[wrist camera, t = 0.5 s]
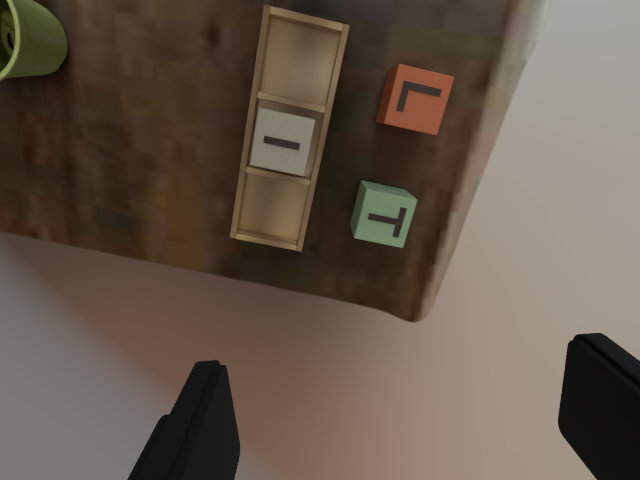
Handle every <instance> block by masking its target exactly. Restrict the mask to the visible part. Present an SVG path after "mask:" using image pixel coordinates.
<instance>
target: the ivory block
mask: <svg viewBox="0 0 640 480" xmlns="http://www.w3.org/2000/svg"><path fill="white" fill-rule="evenodd" d="M314 124H315V119H312V118H307V117H303V116H298V115H294V114H290V113H285V112H281V111H276V110H272V109H267V108H258V115H257V121H256V128H255V134H254V140H253V147H252V153H251V160H250V165H253V166H258V167H263V168H267V169H272V170H277V171H281V172H286V173H291V174H296V175H300V176H304V173H305V168H306V163H307V159H308V154H309V149H310V144H311V139H312V134H313V129H314Z"/></svg>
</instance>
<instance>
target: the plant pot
mask: <svg viewBox="0 0 640 480" xmlns="http://www.w3.org/2000/svg"><path fill="white" fill-rule="evenodd" d="M8 33H10V34H11V39H12V43H13V46H14V49H12V48H11V47H10V45H9V43H8V39H7V34H8ZM67 50H68V44H67V37H66V34H65V31H64V29H63V27H62V25H61V23H60V22H59V21H58V19H57V18H56V17H55V16H54V15H53V14H52V13H51V12H50V11H48V10H47V9H46V8H44V7H43V6H41V5H39V4H38V3H36V2H34V1H33V0H0V81H2V80H3V79H5V78H12V77H23V76H36V75H47V74H50V73H53V72H55V71H57V70H58V69H59V67H60V65H61V64H62V62H63V60H64V59H65V58H66V56H67Z"/></svg>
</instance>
